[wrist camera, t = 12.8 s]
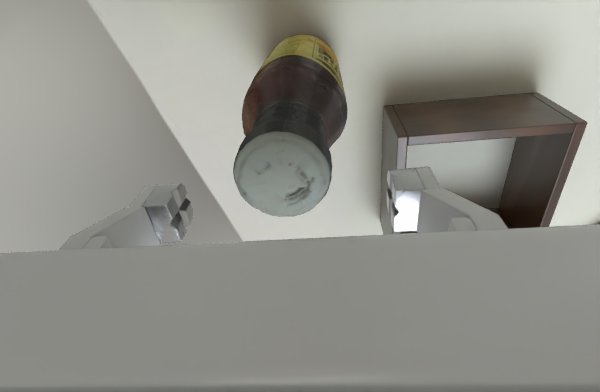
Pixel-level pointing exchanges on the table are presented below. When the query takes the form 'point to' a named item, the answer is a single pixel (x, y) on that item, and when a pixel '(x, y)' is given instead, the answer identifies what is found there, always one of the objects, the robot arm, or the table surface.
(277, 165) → the sauce bottle
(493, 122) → the caddy
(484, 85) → the table surface
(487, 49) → the table surface
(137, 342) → the robot arm
